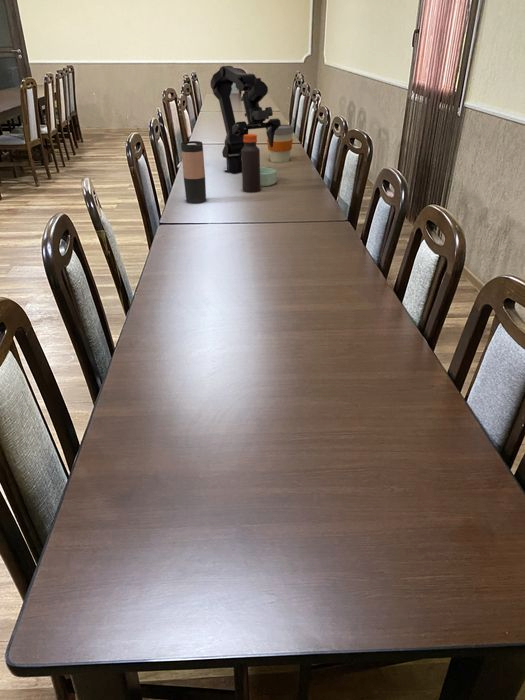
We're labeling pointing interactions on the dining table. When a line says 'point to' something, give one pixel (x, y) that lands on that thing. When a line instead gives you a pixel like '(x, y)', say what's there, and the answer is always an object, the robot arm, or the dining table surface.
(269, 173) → the basin
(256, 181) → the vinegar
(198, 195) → the travel mug
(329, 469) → the dining table surface
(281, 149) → the reusable coffee cup
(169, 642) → the dining table surface
